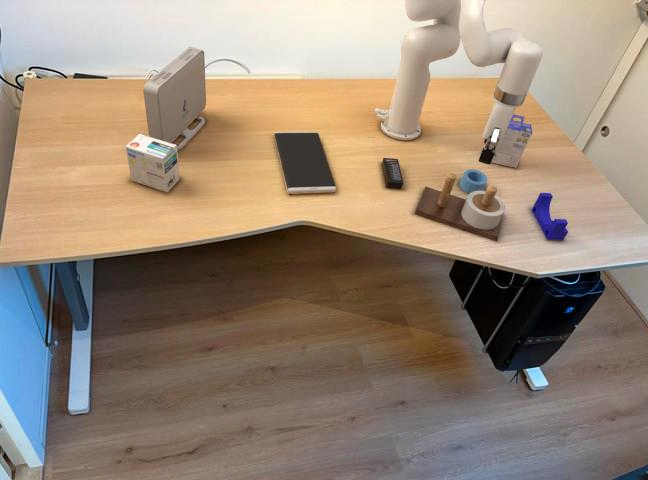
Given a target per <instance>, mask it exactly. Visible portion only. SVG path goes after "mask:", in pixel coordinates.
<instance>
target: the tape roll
mask: <svg viewBox="0 0 648 480" xmlns="http://www.w3.org/2000/svg"><path fill="white" fill-rule="evenodd" d="M488 180H489V178H488V176H487V175H486V174H485V173H484V172H482V171H481V170H477V169H473V168H470V169H466V170H465V171H463V174H462V175H461V179H460V181H459V188H460V189H461V190H462V191H463V192H465V193H467V194H468V195H469V194H470V193H471V192H474V191H485V188H486V186H487V183H488Z"/></svg>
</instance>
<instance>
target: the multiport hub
mask: <svg viewBox="0 0 648 480" xmlns="http://www.w3.org/2000/svg"><path fill="white" fill-rule="evenodd" d="M381 169H382V174H383V180H384V184H385V188H386V189H391V190H393V189H394V190H403V189H402V188H403V185H404V179H403V178H404V177H403V174H402V170H401V166H400V162H399V159H398V158H393V157H392V158H391V157H383V158H382V161H381Z"/></svg>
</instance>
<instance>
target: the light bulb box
mask: <svg viewBox="0 0 648 480" xmlns="http://www.w3.org/2000/svg"><path fill="white" fill-rule="evenodd" d="M177 146H178V145H177V144H175V143H173V142H172V143H169V142H165V141H161V140H158V139H155V138H152V137H149V135H145V134H142V133H138V135H136V136H135V138H133V139H132V140H131V141H130V142H129V143H127V144H126V145H125V151H126V157H127V163H128V167H129V168H128V169H129V174H130V180H131V181H132V182H134V183H138V184H141V185H144V186H146V187H150V188H153V189H156V190H158V191H162V192H165V193H169V191H170V190H171V189H172V188H173V187H174V186H175V185H176V184H177V183H178V182H179V181H180V179H181V177H180V165H179V164H180V163H179V155H178V150H177Z"/></svg>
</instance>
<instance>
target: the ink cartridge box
mask: <svg viewBox="0 0 648 480" xmlns="http://www.w3.org/2000/svg"><path fill="white" fill-rule="evenodd" d="M514 119H515V120H514ZM516 119H519V120H521V121H519V120H516ZM524 121H525V116H522V115H519V114H515V113H514V114H513V116H512V118H511V121H510V123H509V126H508V128H507V130H506V132H505V134H504V136H503V139H502V141H501V142H500V143H498V144H497V146H496V149H495V154H494V157H493V159H492V161H491V164H492V163H493V164H497V165H500V166H501V165H502V166H505V167H510V168H515V169H516V168H517V167H518V165H519V163H520V162H521V158H522V157H523V154H524V152H525V149H526V148H527V146H528V143H529V142H530V139H531V137H532V135H533V126H532V124H531V123H525V122H524Z"/></svg>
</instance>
